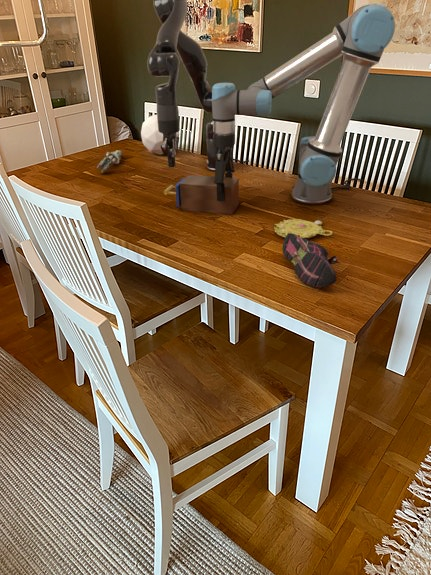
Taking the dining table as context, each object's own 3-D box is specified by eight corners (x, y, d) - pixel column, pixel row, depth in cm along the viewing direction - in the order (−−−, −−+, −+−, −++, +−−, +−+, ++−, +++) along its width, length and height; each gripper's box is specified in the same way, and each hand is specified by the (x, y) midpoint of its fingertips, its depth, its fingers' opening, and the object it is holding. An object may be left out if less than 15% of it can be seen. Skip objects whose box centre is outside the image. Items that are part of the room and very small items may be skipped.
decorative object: (286, 211, 157) (342, 219, 147) (286, 217, 158) (341, 226, 148) (260, 233, 142) (319, 243, 133) (260, 240, 144) (319, 251, 134)
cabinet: (181, 210, 165) (179, 183, 160) (190, 200, 173) (189, 174, 168) (231, 215, 160) (231, 187, 155) (238, 204, 168) (238, 178, 163)
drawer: (163, 205, 167) (161, 184, 162) (172, 197, 174) (170, 176, 170) (223, 210, 161) (222, 189, 157) (229, 201, 168) (229, 180, 164)
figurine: (101, 154, 197) (119, 141, 223) (91, 167, 200) (110, 152, 227) (114, 165, 199) (130, 151, 225) (103, 178, 203) (121, 162, 229)
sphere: (153, 165, 235) (133, 132, 232) (185, 147, 237) (165, 113, 235) (153, 156, 216) (131, 120, 214) (188, 137, 218) (167, 100, 216)
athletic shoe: (323, 277, 110) (361, 269, 114) (285, 218, 122) (321, 213, 126) (307, 304, 119) (343, 296, 123) (273, 246, 130) (307, 241, 135)
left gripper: (165, 113, 159) (169, 161, 169) (150, 121, 149) (155, 171, 158) (184, 113, 158) (187, 162, 167) (171, 122, 147) (175, 173, 156)
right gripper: (222, 125, 161) (223, 184, 173) (203, 141, 142) (205, 205, 154) (242, 125, 159) (242, 185, 171) (225, 142, 140) (226, 207, 152)
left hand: (172, 166), depth 162 cm, fingers closed
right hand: (224, 195), depth 162 cm, fingers closed on cabinet, 10 cm apart
